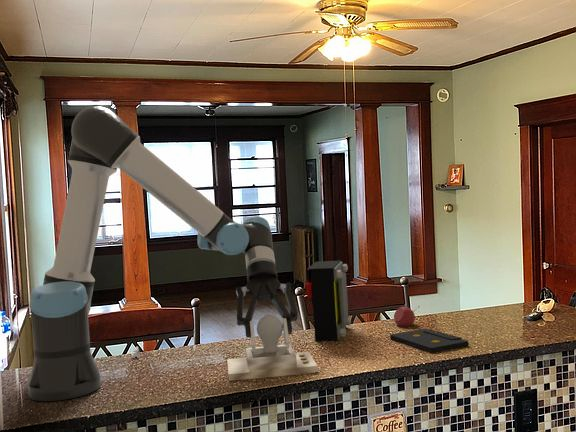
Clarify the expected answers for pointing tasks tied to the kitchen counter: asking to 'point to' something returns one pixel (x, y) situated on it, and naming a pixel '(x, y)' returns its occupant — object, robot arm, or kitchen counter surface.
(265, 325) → the lightbulb
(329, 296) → the electrical component
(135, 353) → the power adapter
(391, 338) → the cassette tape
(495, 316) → the kitchen counter surface
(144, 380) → the kitchen counter surface
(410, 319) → the fruit
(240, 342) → the kitchen counter surface
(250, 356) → the desk organizer
